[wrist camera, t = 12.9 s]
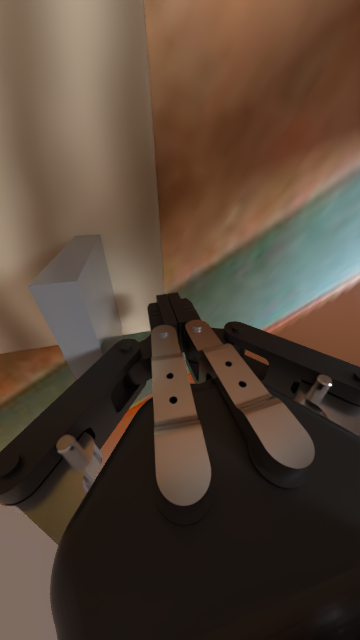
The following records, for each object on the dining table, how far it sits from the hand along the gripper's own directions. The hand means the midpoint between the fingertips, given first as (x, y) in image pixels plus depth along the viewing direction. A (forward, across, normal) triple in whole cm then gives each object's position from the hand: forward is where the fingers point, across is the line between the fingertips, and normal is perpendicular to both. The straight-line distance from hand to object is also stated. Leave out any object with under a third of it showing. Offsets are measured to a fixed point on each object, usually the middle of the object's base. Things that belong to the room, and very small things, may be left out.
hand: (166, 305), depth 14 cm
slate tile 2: (+4, +5, 0) cm, 6 cm away
